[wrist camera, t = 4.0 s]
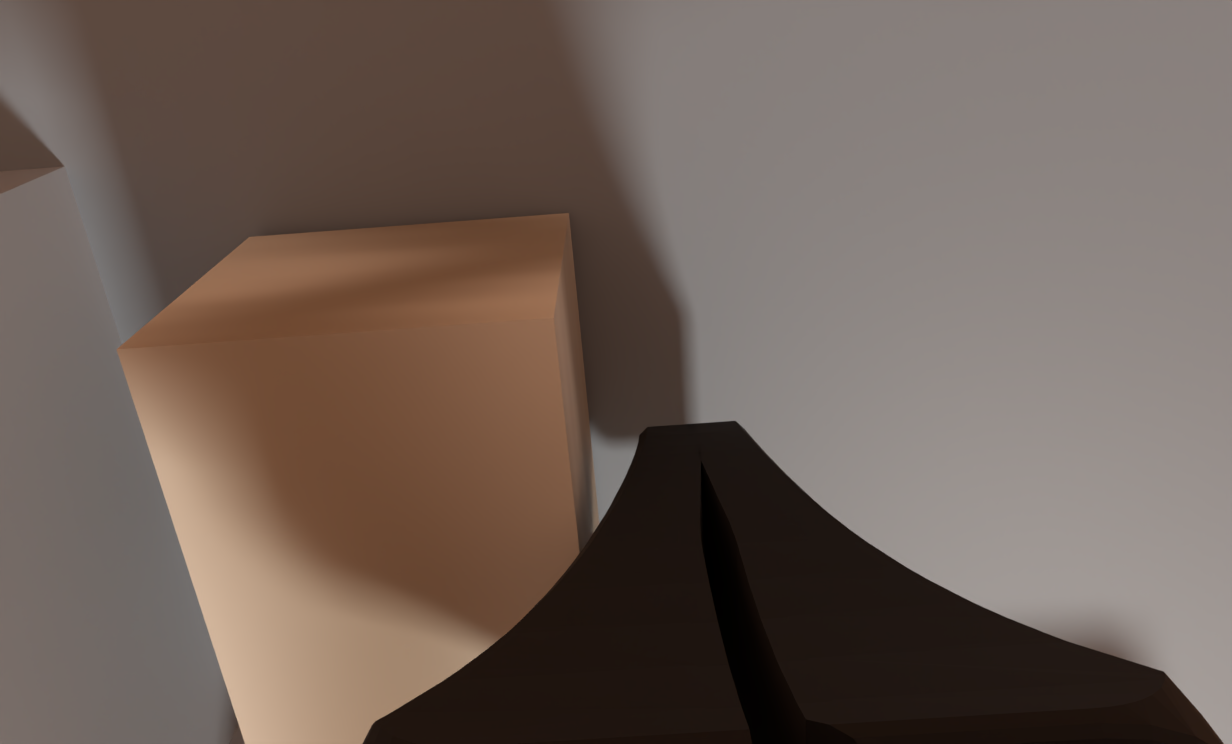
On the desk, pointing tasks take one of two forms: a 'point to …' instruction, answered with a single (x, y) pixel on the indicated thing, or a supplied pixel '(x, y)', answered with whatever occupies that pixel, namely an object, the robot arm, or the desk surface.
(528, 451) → the block
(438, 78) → the gauge board
